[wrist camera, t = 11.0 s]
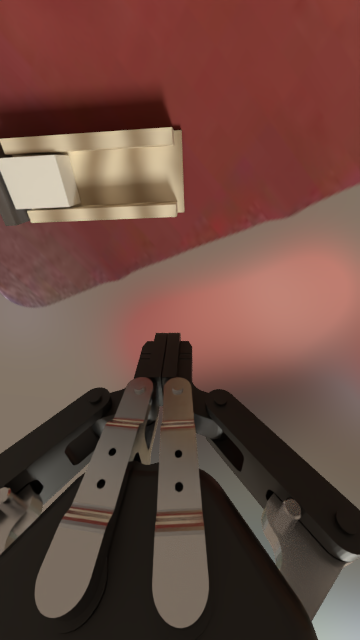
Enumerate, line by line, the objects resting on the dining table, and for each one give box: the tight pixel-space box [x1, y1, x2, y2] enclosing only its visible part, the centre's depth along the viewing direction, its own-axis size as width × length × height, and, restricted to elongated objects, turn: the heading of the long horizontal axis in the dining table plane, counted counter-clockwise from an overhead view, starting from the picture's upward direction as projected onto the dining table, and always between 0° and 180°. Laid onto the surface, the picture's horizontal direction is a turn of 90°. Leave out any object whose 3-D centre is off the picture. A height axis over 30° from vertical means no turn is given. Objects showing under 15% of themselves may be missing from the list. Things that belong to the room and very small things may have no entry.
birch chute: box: [0, 127, 184, 226], centre depth 32 cm, size 26×10×6 cm, turn 93°
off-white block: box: [0, 155, 81, 209], centre depth 33 cm, size 8×6×4 cm
